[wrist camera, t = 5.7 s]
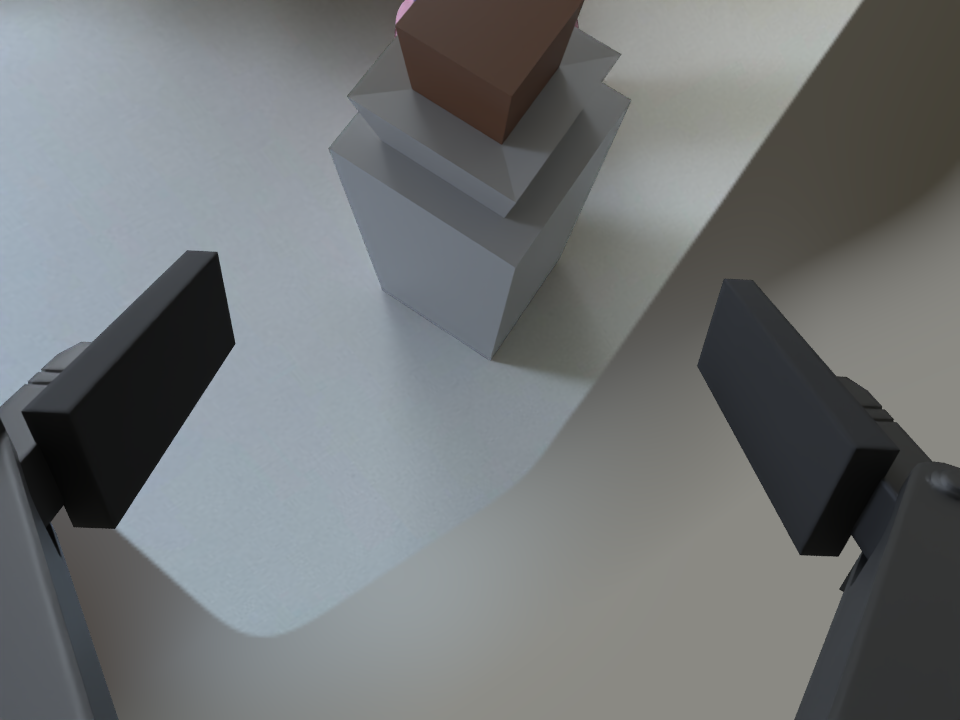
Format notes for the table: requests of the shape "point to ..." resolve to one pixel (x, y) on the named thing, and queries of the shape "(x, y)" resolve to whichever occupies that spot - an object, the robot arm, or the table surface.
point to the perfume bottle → (477, 156)
